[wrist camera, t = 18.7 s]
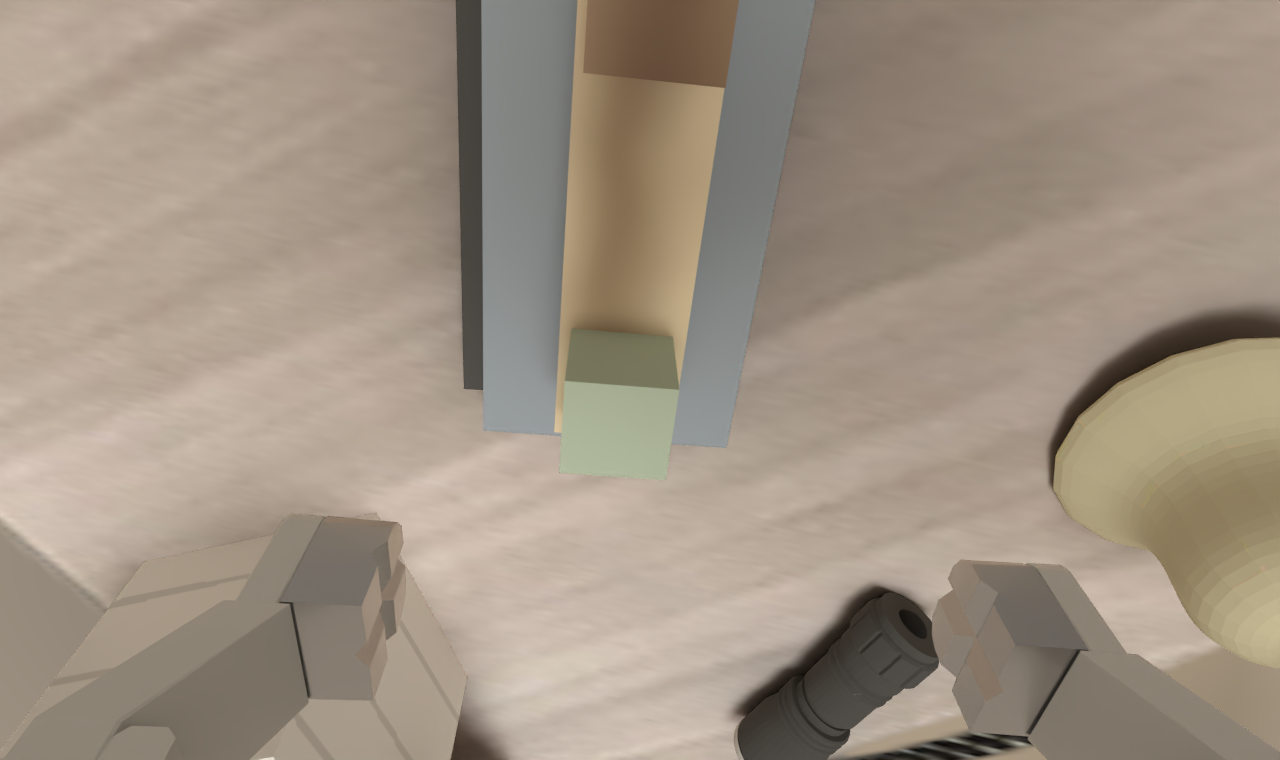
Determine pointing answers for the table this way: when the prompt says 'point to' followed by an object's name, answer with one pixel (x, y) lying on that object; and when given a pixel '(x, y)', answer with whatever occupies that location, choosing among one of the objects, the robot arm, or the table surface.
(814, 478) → the table surface
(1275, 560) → the handbell
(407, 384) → the table surface
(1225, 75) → the table surface
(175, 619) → the pizza boxes
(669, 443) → the block
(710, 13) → the block
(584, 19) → the pallet
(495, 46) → the dock
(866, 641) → the flashlight
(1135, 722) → the robot arm
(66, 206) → the table surface
